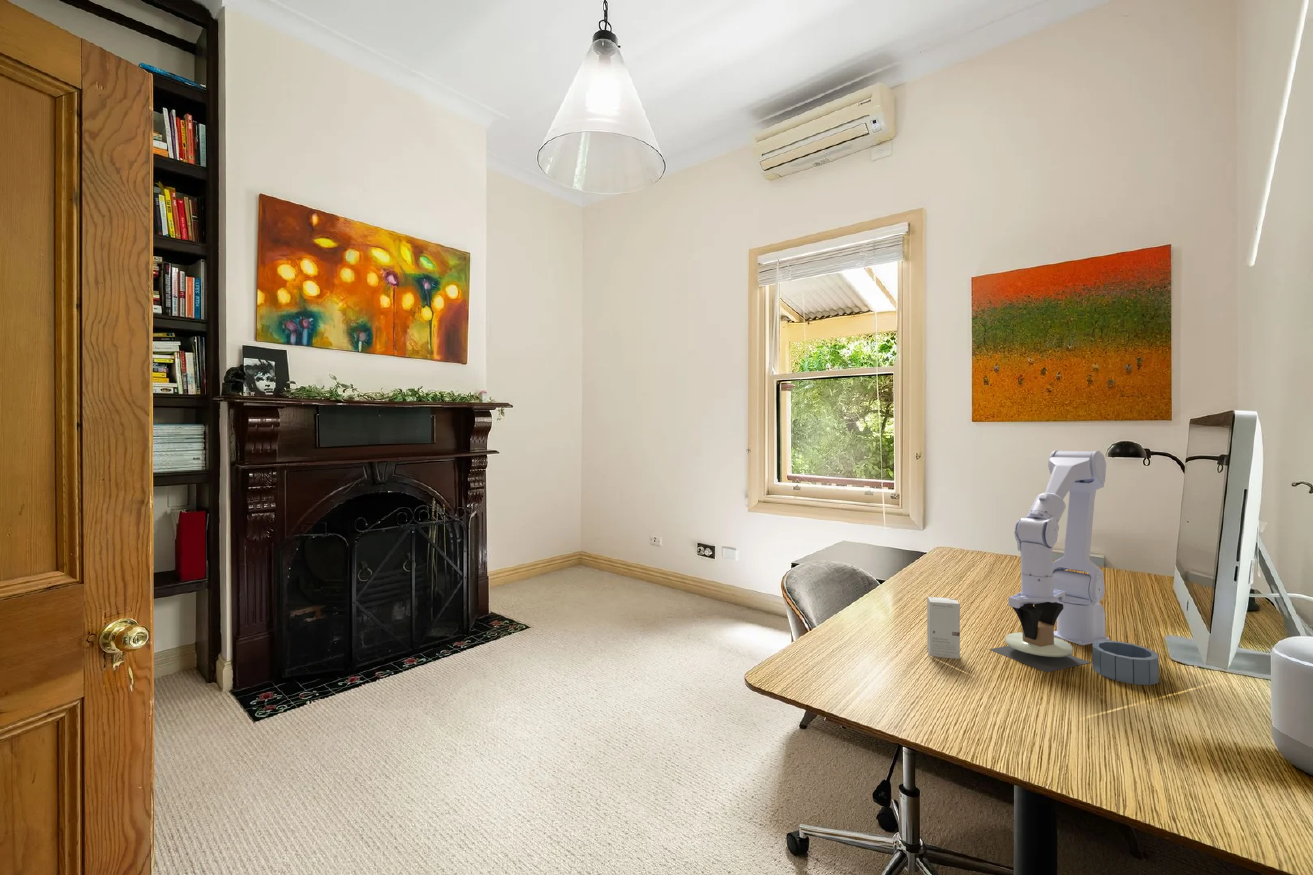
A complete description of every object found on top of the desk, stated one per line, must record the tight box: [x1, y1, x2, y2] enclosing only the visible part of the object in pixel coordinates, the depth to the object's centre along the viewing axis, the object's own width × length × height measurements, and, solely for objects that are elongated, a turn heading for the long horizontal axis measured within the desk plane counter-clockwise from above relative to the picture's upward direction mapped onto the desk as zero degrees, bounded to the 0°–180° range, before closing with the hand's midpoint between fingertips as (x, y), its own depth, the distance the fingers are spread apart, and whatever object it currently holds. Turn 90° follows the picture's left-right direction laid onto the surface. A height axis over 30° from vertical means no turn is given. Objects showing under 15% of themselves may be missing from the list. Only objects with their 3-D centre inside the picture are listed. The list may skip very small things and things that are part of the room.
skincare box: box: [926, 596, 961, 660], centre depth 122 cm, size 6×4×12 cm
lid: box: [1005, 621, 1074, 657], centre depth 120 cm, size 12×12×5 cm
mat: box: [988, 645, 1092, 673], centre depth 120 cm, size 13×13×1 cm
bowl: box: [1091, 640, 1160, 686], centre depth 111 cm, size 10×10×5 cm
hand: (1038, 636), depth 120 cm, fingers closed on lid, 4 cm apart
